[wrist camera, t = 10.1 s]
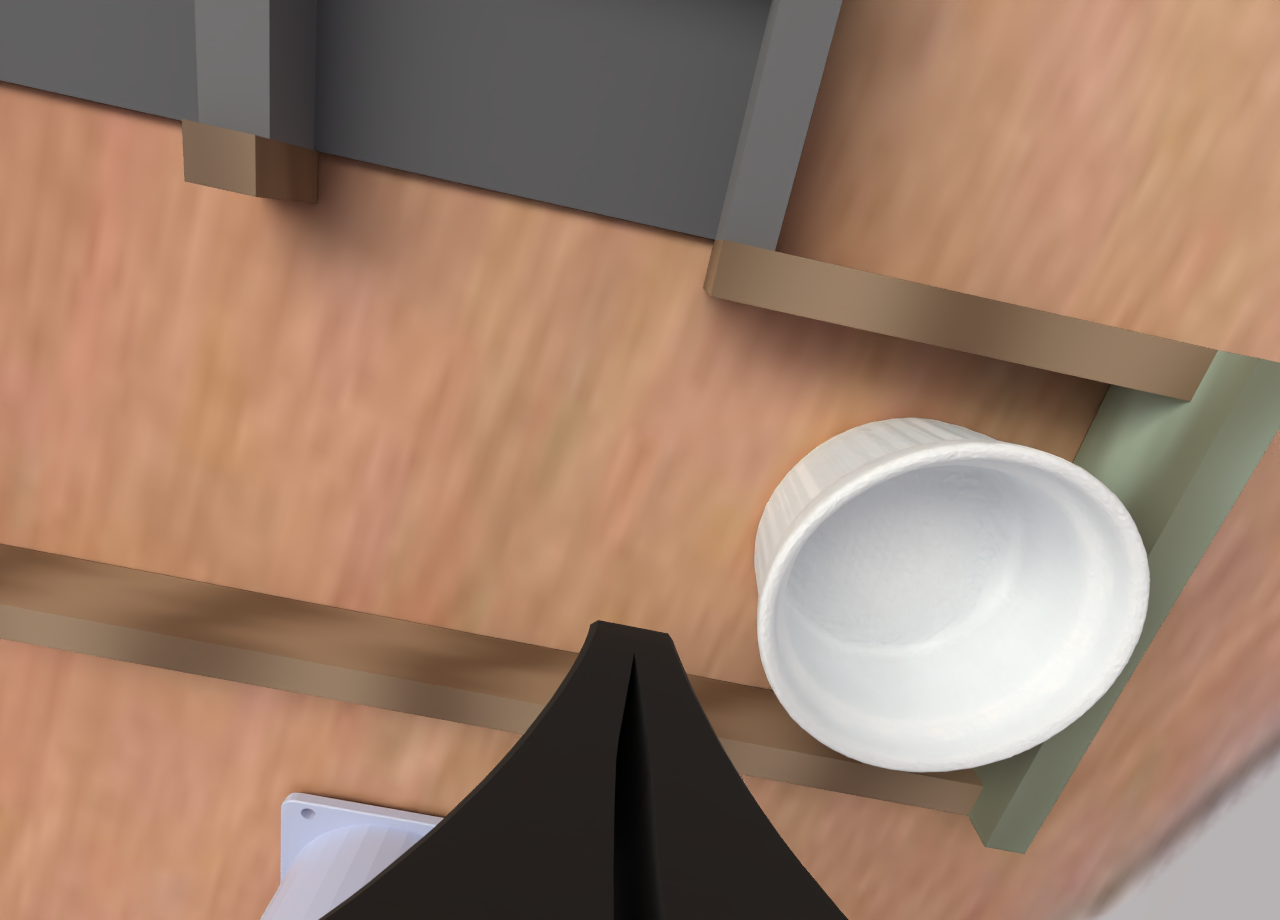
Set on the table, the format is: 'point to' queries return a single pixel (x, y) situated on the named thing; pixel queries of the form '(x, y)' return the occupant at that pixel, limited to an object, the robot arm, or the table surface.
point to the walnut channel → (740, 715)
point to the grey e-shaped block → (475, 90)
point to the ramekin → (943, 594)
